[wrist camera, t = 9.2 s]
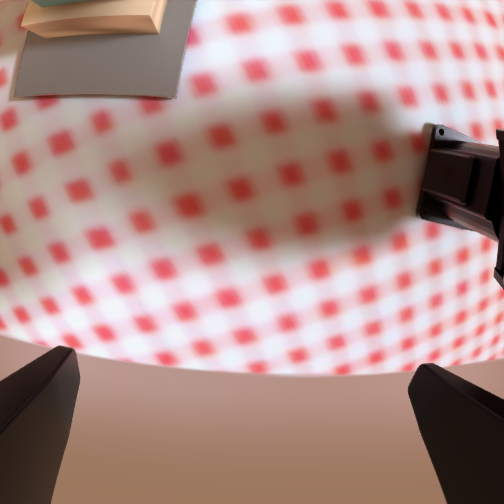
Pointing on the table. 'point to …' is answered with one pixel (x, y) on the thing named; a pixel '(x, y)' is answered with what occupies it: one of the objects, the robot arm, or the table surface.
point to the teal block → (56, 2)
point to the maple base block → (95, 17)
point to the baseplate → (109, 60)
